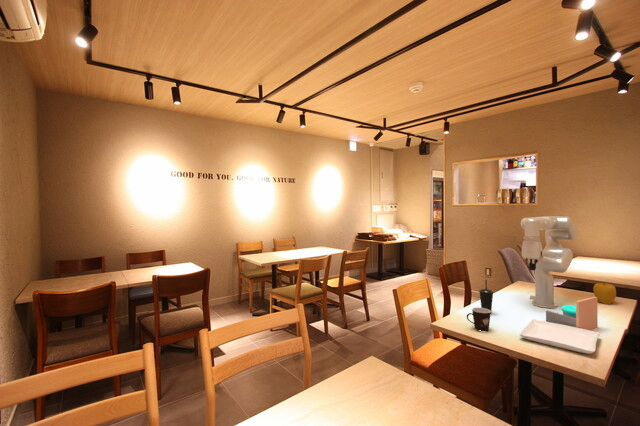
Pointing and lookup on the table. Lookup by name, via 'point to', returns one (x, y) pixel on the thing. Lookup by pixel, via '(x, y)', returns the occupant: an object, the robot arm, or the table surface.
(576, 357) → the table surface
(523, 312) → the table surface
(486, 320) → the coffee mug
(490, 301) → the drinking cup
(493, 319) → the table surface
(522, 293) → the table surface
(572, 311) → the donuts
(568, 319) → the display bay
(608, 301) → the apple
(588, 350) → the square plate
